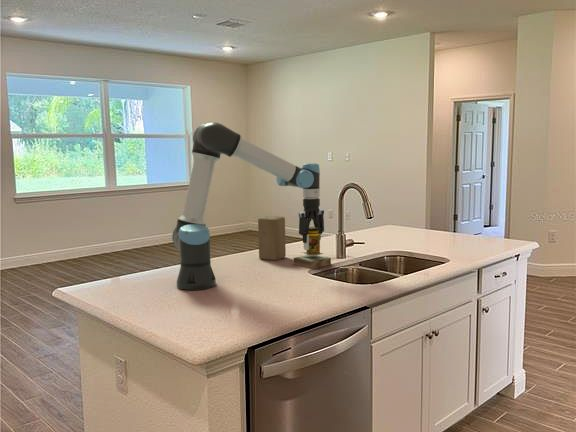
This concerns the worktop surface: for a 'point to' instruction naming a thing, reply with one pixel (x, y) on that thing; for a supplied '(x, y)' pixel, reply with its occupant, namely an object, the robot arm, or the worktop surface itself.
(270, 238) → the wooden block
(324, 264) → the stand
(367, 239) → the worktop surface
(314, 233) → the condiment
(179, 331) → the worktop surface
